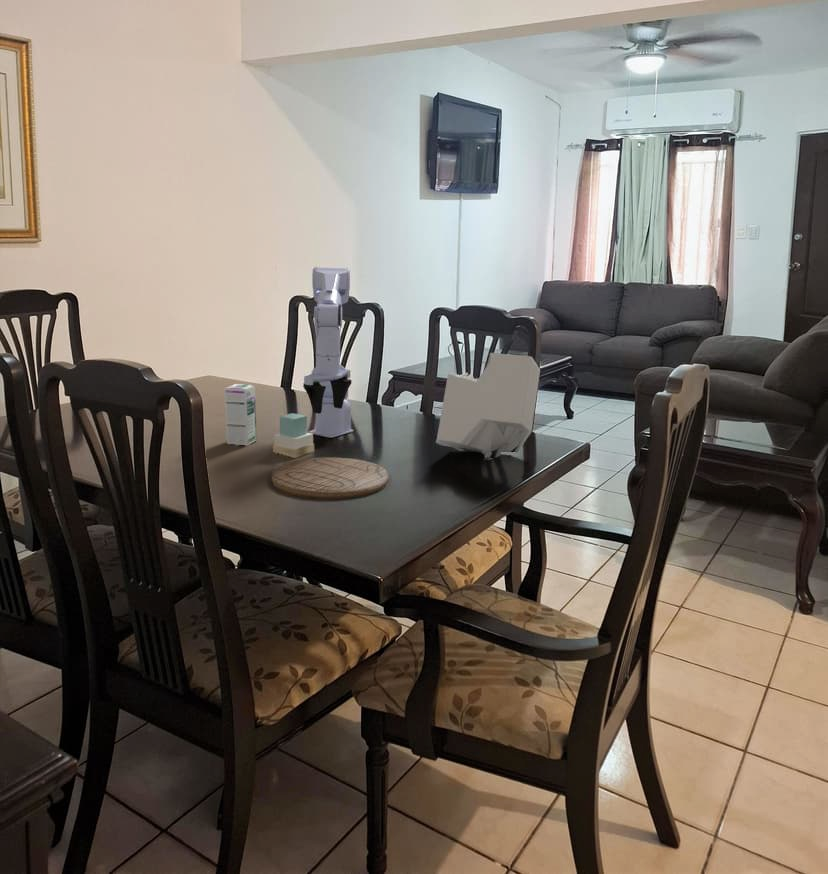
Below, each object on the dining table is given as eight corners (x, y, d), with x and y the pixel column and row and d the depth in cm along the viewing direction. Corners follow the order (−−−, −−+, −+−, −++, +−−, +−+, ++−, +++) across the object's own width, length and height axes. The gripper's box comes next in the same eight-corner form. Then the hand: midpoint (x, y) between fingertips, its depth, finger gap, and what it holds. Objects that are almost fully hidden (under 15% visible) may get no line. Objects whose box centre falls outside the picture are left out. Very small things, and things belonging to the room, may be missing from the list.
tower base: (292, 448, 194) (292, 439, 194) (314, 453, 191) (314, 443, 190) (273, 454, 189) (272, 444, 188) (294, 459, 185) (294, 449, 184)
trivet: (319, 459, 186) (319, 451, 185) (409, 478, 173) (410, 470, 173) (246, 485, 165) (246, 476, 164) (343, 509, 152) (343, 499, 152)
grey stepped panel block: (430, 453, 183) (445, 348, 185) (446, 459, 198) (460, 362, 200) (516, 464, 177) (531, 356, 179) (526, 469, 192) (540, 370, 194)
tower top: (292, 439, 193) (292, 429, 193) (313, 443, 190) (313, 433, 189) (274, 444, 188) (274, 434, 187) (295, 449, 185) (295, 439, 184)
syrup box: (247, 446, 193) (246, 388, 189) (225, 444, 194) (224, 386, 191) (257, 440, 198) (256, 384, 195) (235, 439, 200) (233, 383, 196)
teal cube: (292, 431, 191) (292, 413, 190) (306, 434, 189) (306, 415, 188) (279, 434, 188) (279, 416, 187) (294, 437, 185) (294, 419, 184)
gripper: (320, 360, 179) (319, 417, 183) (360, 353, 191) (359, 408, 194) (297, 356, 183) (297, 413, 186) (338, 350, 195) (337, 403, 198)
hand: (327, 410), depth 190 cm, fingers open, 7 cm apart
